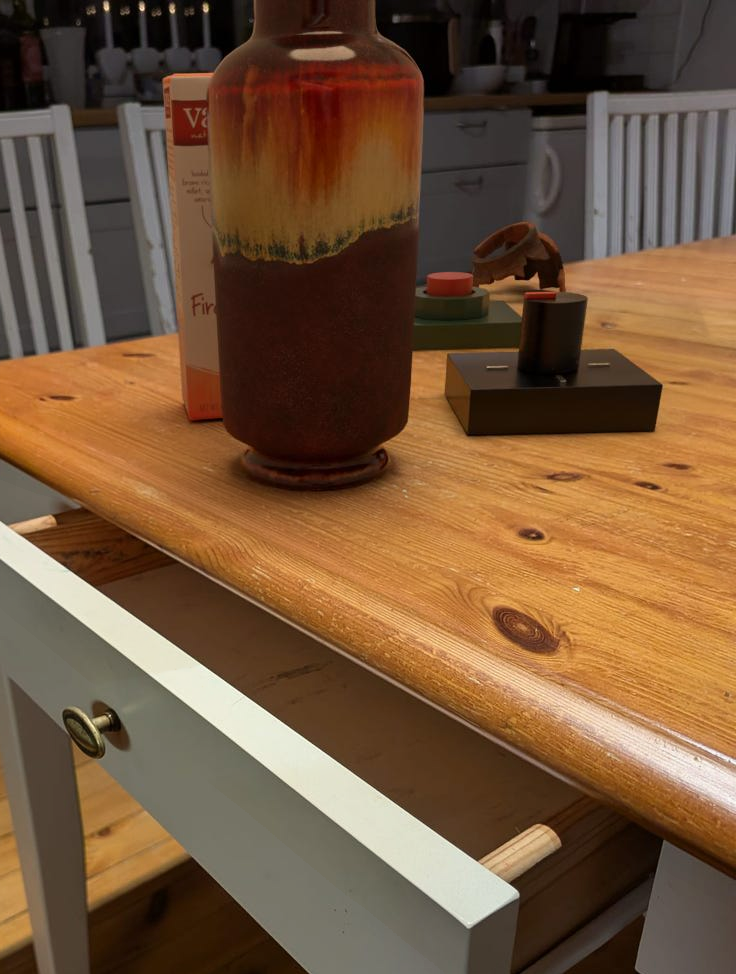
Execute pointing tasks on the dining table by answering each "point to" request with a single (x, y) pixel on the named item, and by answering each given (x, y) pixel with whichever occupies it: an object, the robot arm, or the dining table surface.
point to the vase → (315, 240)
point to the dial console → (551, 395)
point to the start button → (449, 284)
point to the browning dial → (551, 332)
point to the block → (464, 322)
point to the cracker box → (193, 242)
